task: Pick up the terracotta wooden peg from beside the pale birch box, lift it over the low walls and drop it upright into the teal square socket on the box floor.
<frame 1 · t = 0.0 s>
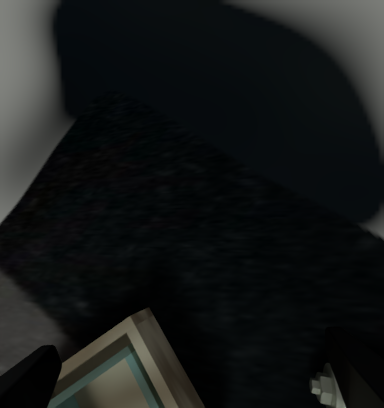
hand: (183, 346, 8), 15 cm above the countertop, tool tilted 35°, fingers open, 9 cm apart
pipe fitting: (364, 385, 20), on the countertop
socket box: (128, 403, 22), on the countertop
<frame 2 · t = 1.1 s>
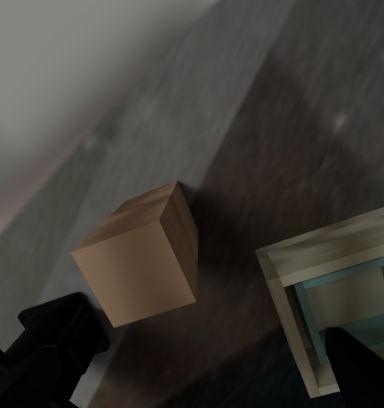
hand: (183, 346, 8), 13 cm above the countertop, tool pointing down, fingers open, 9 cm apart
peg: (162, 216, 21), on the countertop
socket box: (336, 284, 22), on the countertop
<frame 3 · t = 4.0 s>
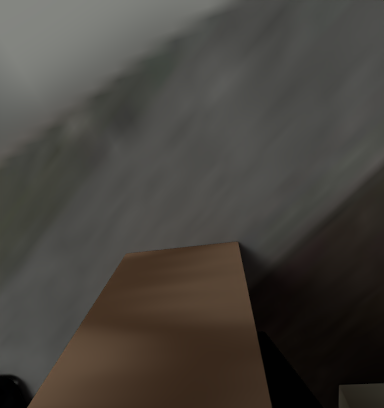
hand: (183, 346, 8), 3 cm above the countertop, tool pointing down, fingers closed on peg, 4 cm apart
peg: (189, 295, 11), on the countertop, touching gripper
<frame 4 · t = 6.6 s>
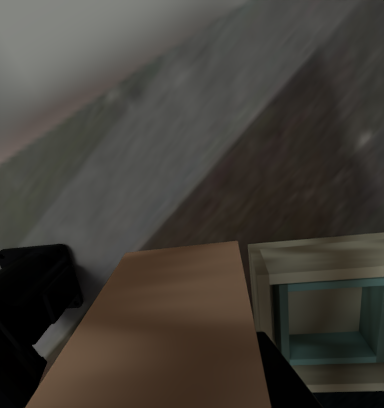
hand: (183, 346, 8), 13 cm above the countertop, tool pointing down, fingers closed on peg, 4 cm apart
peg: (189, 294, 11), point 11 cm above the countertop, touching gripper
socket box: (315, 294, 22), on the countertop
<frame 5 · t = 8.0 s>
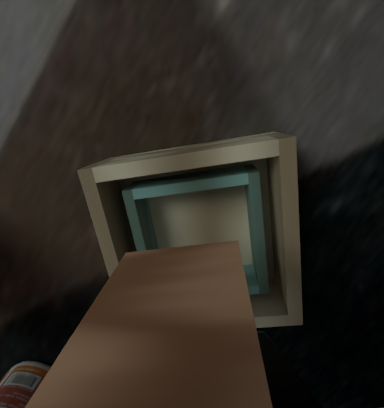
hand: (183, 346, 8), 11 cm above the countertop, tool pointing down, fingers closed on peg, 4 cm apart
peg: (189, 294, 11), point 8 cm above the countertop, touching gripper
socket box: (201, 221, 18), on the countertop
pill bottle: (41, 379, 25), on the countertop
when the fingers open (7 cm above the countertop, at t = 9.3 s): peg drops 4 cm, resting on socket box.
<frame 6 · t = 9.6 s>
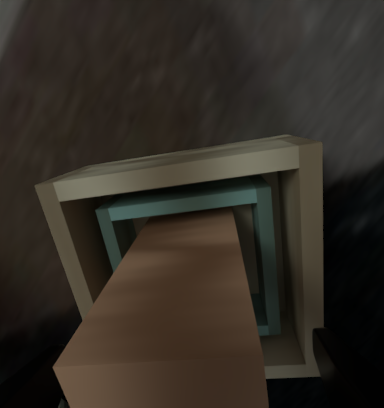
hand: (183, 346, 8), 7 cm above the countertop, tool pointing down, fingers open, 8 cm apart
peg: (196, 248, 14), point 1 cm above the countertop, touching socket box
socket box: (197, 242, 15), on the countertop
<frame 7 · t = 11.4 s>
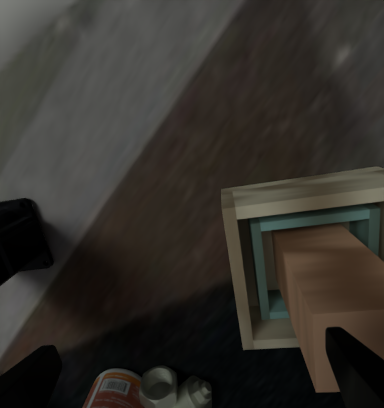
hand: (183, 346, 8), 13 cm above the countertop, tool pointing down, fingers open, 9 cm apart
peg: (303, 250, 19), point 1 cm above the countertop, touching socket box
pipe fitting: (181, 390, 28), on the countertop
socket box: (299, 245, 20), on the countertop
pill bottle: (124, 384, 28), on the countertop
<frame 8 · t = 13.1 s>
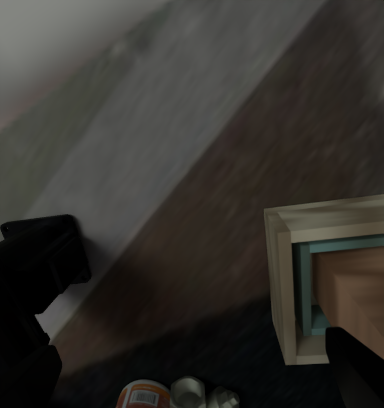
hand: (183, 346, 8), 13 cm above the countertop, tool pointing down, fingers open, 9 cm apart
peg: (342, 268, 20), point 1 cm above the countertop, touching socket box
pipe fitting: (206, 399, 28), on the countertop
socket box: (336, 262, 21), on the countertop
pill bottle: (149, 395, 28), on the countertop
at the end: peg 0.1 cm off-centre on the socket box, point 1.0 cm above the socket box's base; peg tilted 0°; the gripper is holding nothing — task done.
